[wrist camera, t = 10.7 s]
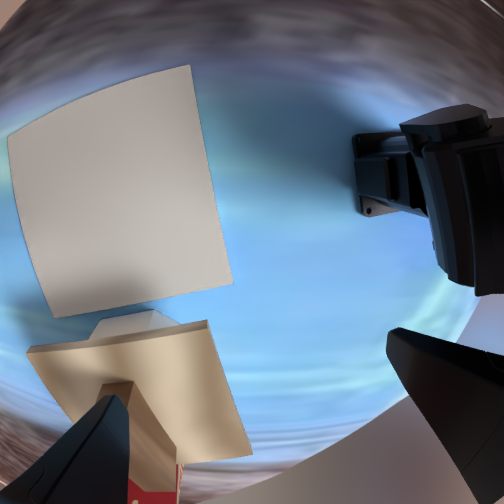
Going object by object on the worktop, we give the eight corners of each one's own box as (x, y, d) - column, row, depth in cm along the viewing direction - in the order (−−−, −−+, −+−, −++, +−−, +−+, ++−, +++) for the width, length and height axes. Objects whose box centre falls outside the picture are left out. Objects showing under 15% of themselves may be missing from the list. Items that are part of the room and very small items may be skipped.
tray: (190, 66, 16) (190, 64, 15) (232, 280, 21) (233, 283, 20) (10, 137, 14) (7, 137, 14) (56, 315, 19) (54, 318, 19)
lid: (207, 319, 16) (208, 383, 10) (251, 446, 20) (261, 495, 15) (31, 346, 14) (-3, 391, 9) (112, 456, 19) (104, 499, 13)
